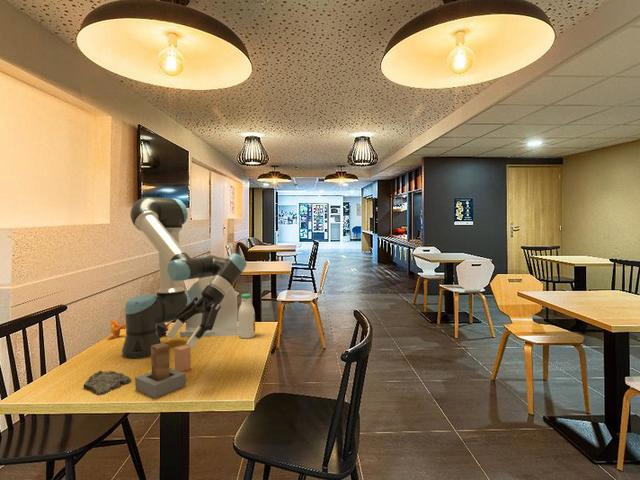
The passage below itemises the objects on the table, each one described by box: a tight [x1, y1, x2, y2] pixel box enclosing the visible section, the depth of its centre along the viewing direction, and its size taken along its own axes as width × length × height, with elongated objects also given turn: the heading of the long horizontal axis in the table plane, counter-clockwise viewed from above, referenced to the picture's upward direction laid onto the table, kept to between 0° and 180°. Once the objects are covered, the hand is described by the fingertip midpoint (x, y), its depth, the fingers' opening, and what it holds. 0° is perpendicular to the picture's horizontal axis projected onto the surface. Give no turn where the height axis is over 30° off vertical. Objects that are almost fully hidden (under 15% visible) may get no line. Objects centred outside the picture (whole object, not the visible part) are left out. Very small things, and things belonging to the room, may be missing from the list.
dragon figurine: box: [110, 318, 172, 339], centre depth 184 cm, size 10×12×25 cm
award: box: [179, 276, 239, 338], centre depth 187 cm, size 28×9×28 cm, turn 94°
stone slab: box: [83, 370, 132, 396], centre depth 130 cm, size 12×17×3 cm
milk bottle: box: [237, 293, 256, 339], centre depth 182 cm, size 8×8×20 cm
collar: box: [134, 368, 187, 399], centre depth 126 cm, size 11×11×4 cm
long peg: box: [150, 342, 170, 381], centre depth 126 cm, size 4×4×14 cm
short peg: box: [173, 345, 192, 373], centre depth 142 cm, size 4×4×8 cm
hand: (178, 341), depth 130 cm, fingers open, 13 cm apart
